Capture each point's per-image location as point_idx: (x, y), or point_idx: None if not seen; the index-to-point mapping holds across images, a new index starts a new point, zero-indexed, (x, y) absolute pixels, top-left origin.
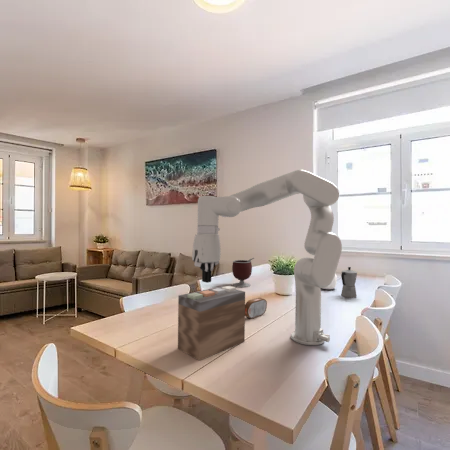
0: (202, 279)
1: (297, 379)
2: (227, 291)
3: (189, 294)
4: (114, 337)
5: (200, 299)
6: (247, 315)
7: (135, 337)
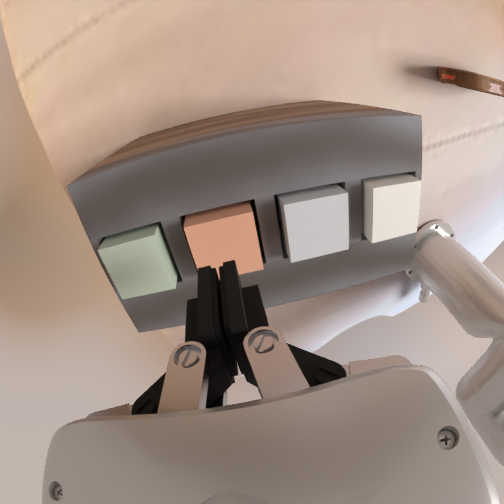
0: (189, 299)
1: (290, 341)
2: (365, 226)
3: (107, 255)
4: (30, 14)
5: (153, 300)
6: (440, 79)
7: (67, 22)
